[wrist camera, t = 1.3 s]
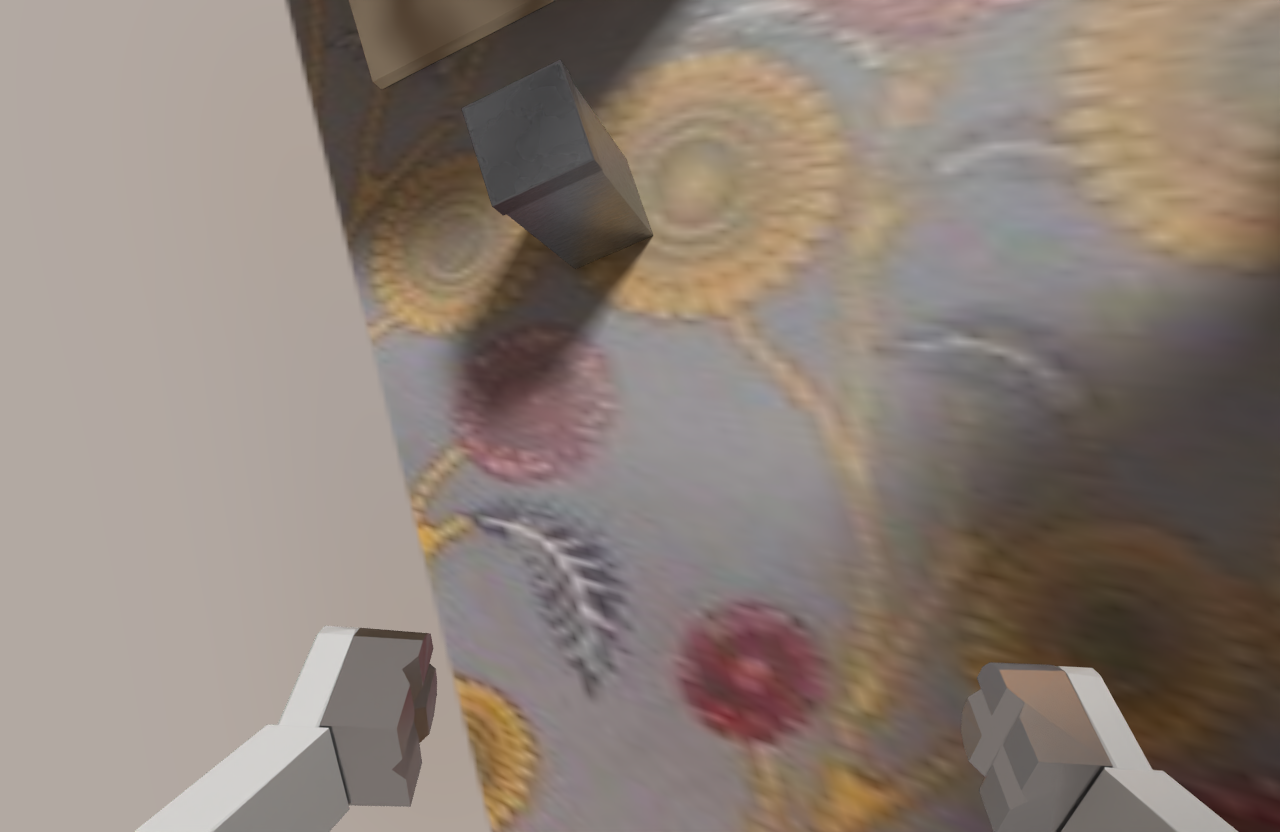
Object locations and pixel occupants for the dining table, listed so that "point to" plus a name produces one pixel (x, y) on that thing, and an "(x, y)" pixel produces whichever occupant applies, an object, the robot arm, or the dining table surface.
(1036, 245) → the dining table surface
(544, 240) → the tea tin
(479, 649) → the dining table surface
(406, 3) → the wooden cubby shelf
